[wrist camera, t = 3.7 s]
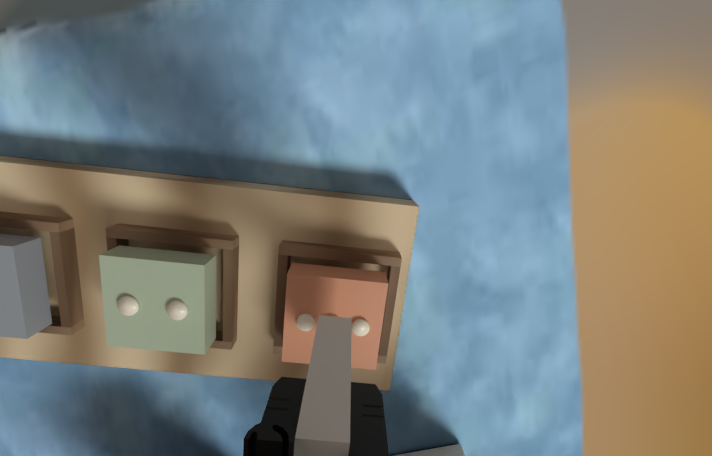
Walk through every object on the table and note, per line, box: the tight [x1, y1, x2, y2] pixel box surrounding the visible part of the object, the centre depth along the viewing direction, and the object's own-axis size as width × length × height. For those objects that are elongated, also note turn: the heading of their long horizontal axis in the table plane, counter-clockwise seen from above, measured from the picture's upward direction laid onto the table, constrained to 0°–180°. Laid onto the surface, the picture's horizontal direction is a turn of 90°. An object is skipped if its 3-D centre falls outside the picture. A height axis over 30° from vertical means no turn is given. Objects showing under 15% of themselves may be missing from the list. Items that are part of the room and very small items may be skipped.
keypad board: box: [0, 156, 419, 391], centre depth 20 cm, size 26×12×3 cm, turn 84°
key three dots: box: [282, 263, 388, 370], centre depth 18 cm, size 5×5×2 cm
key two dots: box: [99, 245, 216, 355], centre depth 18 cm, size 5×5×2 cm
